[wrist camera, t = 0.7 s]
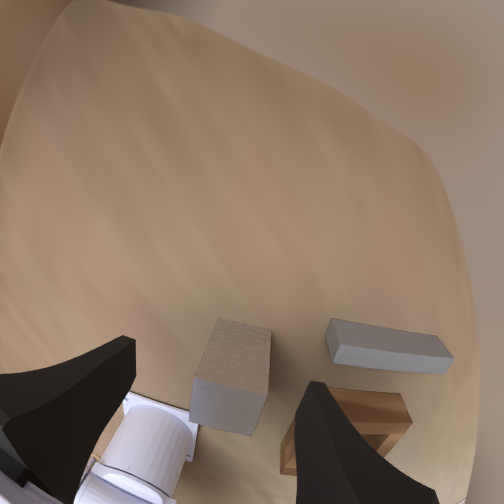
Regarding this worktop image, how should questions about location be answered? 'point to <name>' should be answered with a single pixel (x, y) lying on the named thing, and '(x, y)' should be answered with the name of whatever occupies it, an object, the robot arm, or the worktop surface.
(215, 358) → the grey rectangular block
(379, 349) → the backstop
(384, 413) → the square wooden frame
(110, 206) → the worktop surface
